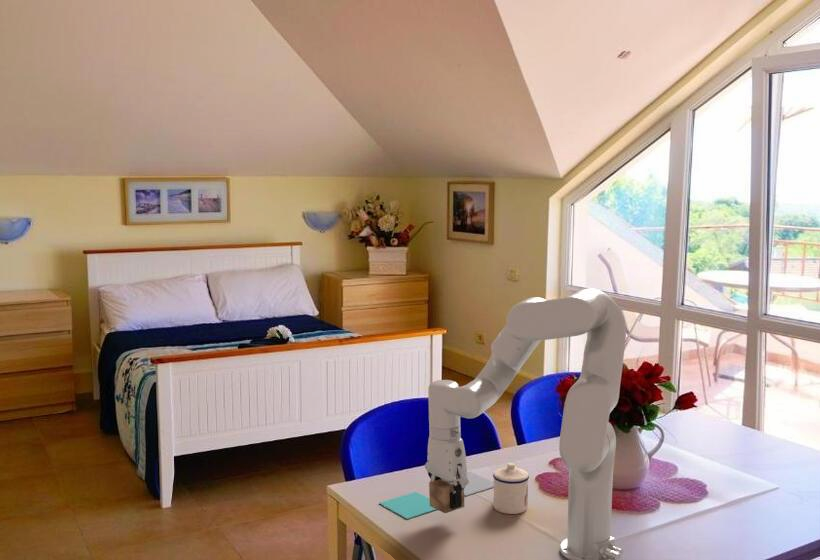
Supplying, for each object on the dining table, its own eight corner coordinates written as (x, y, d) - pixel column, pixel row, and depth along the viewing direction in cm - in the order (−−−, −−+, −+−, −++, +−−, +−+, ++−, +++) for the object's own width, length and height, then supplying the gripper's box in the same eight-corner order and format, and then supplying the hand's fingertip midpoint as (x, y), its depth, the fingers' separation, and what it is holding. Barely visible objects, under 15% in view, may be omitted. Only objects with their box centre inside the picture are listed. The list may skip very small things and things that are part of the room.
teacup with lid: (533, 513, 210) (534, 469, 208) (498, 516, 208) (499, 471, 207) (518, 494, 222) (518, 452, 220) (485, 497, 220) (485, 455, 218)
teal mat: (444, 507, 214) (444, 506, 214) (407, 519, 206) (407, 518, 206) (415, 492, 223) (415, 491, 223) (379, 503, 216) (379, 502, 216)
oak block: (464, 506, 203) (463, 483, 202) (445, 513, 199) (444, 489, 199) (448, 499, 208) (448, 476, 207) (429, 505, 204) (429, 482, 203)
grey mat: (499, 485, 228) (499, 484, 228) (465, 496, 221) (465, 495, 221) (470, 472, 237) (470, 471, 237) (437, 482, 230) (437, 481, 230)
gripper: (480, 436, 196) (482, 510, 199) (434, 420, 210) (436, 489, 212) (456, 443, 192) (458, 518, 194) (410, 427, 206) (413, 497, 208)
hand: (446, 502), depth 203 cm, fingers closed on oak block, 6 cm apart
